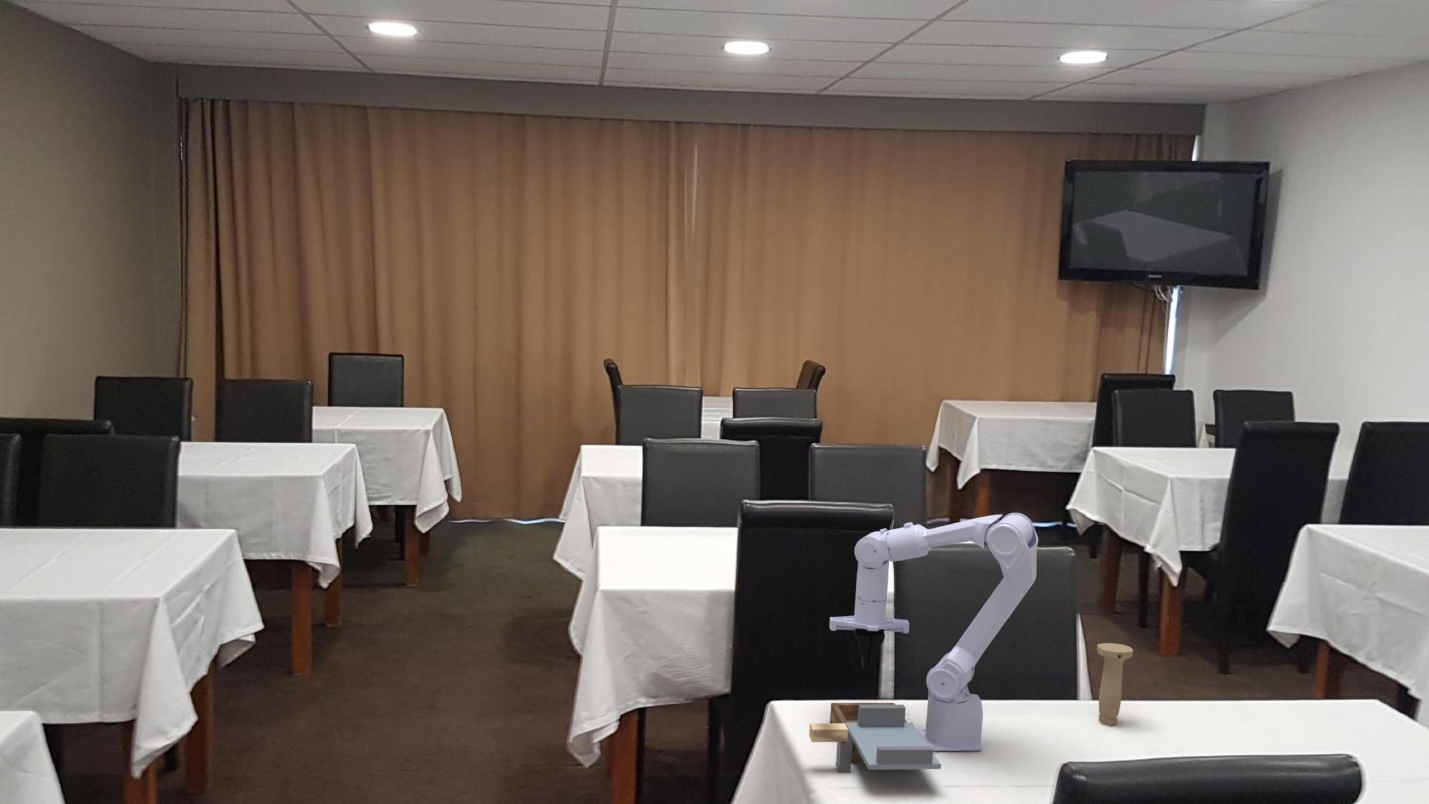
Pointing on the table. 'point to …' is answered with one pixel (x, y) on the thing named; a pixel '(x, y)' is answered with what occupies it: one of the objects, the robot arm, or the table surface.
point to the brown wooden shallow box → (849, 720)
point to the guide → (844, 756)
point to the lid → (890, 739)
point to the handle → (1111, 680)
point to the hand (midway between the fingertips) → (866, 667)
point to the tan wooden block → (828, 732)
